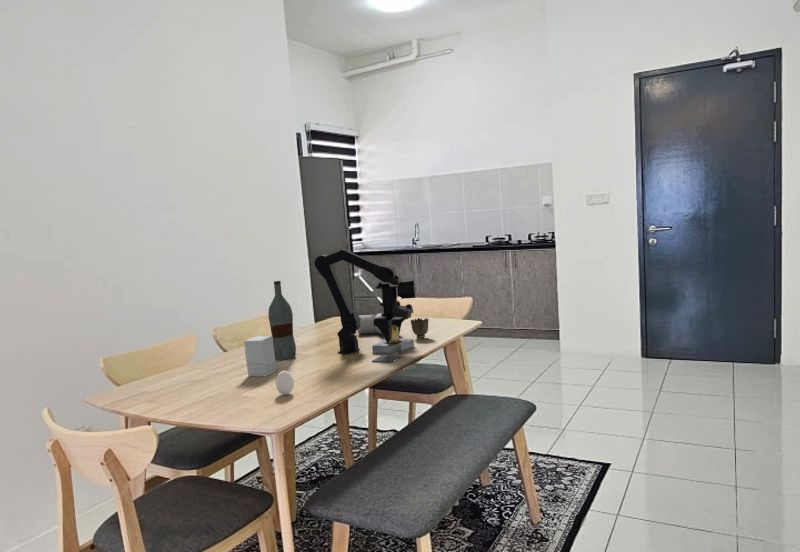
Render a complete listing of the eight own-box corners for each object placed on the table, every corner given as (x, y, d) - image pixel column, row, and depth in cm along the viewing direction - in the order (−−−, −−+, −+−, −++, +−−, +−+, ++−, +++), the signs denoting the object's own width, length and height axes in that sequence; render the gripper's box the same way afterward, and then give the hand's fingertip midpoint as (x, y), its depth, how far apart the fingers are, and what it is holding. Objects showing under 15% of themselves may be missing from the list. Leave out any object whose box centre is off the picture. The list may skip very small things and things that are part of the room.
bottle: (278, 355, 226) (271, 280, 223) (300, 355, 224) (293, 279, 221) (268, 361, 217) (260, 283, 214) (291, 361, 215) (283, 282, 212)
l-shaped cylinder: (405, 326, 260) (362, 328, 263) (403, 304, 257) (359, 307, 260) (400, 343, 243) (354, 345, 247) (397, 320, 240) (351, 323, 243)
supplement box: (277, 370, 203) (273, 335, 201) (265, 376, 196) (261, 340, 194) (259, 370, 205) (255, 335, 204) (247, 376, 198) (243, 340, 197)
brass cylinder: (385, 351, 219) (383, 326, 218) (390, 348, 224) (388, 324, 223) (396, 351, 217) (394, 326, 216) (401, 348, 222) (400, 324, 221)
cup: (433, 336, 238) (431, 317, 237) (424, 340, 232) (422, 321, 231) (417, 336, 242) (416, 317, 241) (408, 339, 236) (407, 320, 235)
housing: (372, 353, 218) (372, 345, 217) (386, 345, 228) (386, 338, 228) (401, 354, 213) (400, 346, 212) (414, 346, 223) (413, 338, 223)
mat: (372, 361, 204) (371, 360, 204) (382, 356, 212) (381, 355, 211) (392, 362, 201) (392, 361, 201) (401, 357, 208) (401, 355, 208)
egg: (279, 398, 170) (276, 374, 169) (275, 394, 174) (273, 370, 174) (296, 395, 172) (294, 371, 171) (292, 390, 177) (290, 367, 176)
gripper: (398, 303, 207) (401, 345, 208) (418, 295, 223) (421, 334, 225) (371, 303, 211) (374, 345, 213) (392, 295, 228) (395, 334, 230)
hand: (392, 339), depth 220 cm, fingers open, 8 cm apart
